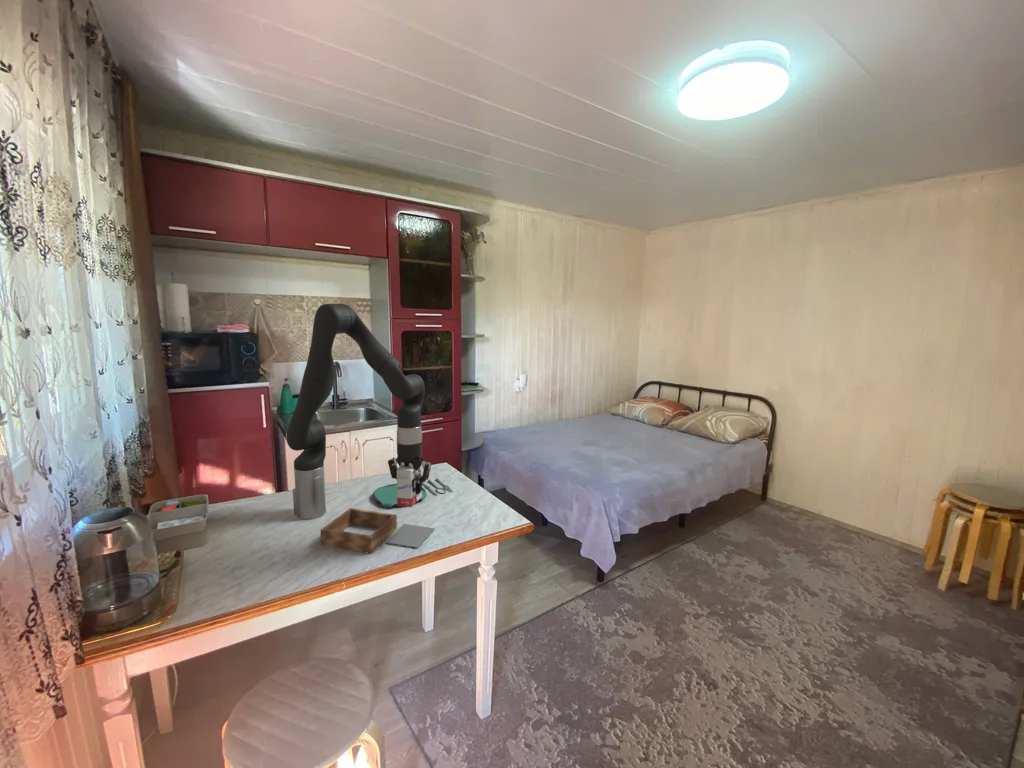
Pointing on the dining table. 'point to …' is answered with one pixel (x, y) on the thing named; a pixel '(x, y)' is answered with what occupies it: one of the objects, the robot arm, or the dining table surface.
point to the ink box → (407, 487)
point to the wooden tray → (353, 541)
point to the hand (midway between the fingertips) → (410, 492)
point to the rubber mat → (410, 535)
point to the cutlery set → (389, 493)
